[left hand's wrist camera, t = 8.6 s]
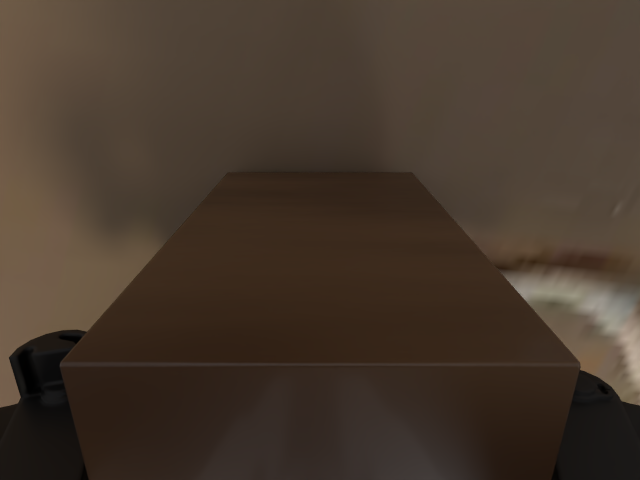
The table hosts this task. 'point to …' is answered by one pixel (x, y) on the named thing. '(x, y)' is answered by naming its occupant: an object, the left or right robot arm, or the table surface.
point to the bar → (320, 346)
